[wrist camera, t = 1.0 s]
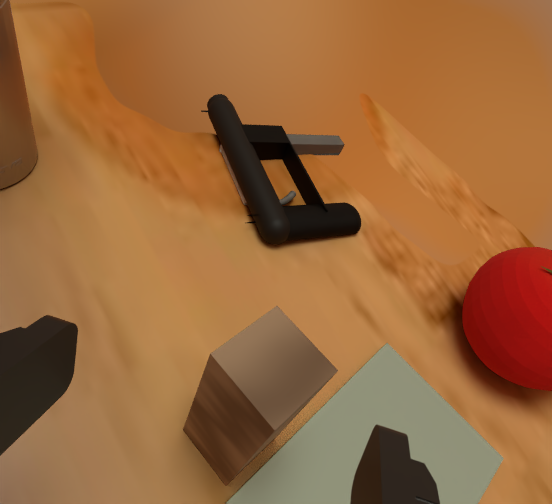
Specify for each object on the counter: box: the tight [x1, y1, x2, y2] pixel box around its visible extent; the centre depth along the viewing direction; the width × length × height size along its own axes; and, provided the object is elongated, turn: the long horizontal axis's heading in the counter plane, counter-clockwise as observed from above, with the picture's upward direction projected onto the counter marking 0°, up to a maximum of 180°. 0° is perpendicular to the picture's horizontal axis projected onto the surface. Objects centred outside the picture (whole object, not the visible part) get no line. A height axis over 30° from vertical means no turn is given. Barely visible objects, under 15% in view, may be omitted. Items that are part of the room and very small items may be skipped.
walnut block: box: [183, 306, 338, 485], centre depth 26 cm, size 4×4×12 cm
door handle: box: [202, 94, 361, 244], centre depth 48 cm, size 3×20×16 cm
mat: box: [225, 343, 504, 504], centre depth 31 cm, size 12×18×1 cm, turn 135°
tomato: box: [462, 247, 552, 391], centre depth 38 cm, size 11×12×10 cm
